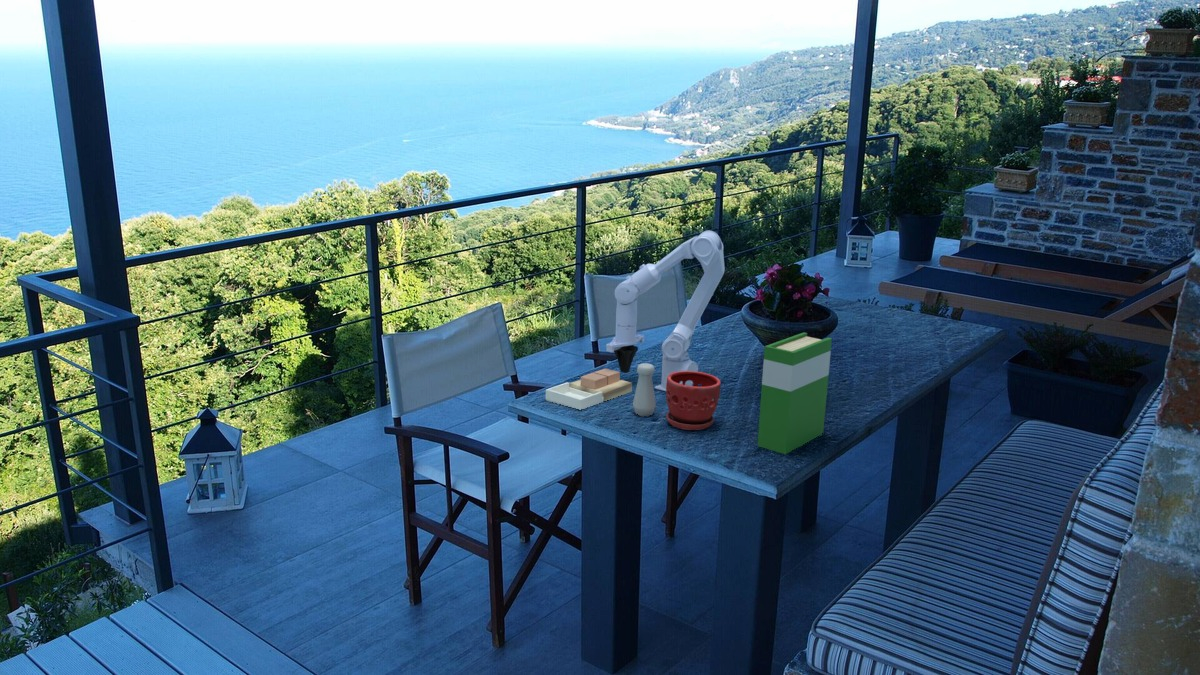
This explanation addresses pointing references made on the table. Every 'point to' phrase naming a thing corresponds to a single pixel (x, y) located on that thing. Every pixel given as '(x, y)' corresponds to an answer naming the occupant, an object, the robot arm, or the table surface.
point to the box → (572, 397)
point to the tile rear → (610, 375)
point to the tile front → (593, 381)
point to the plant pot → (692, 399)
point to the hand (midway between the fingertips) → (624, 371)
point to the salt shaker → (644, 391)
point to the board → (606, 389)
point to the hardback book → (793, 392)
